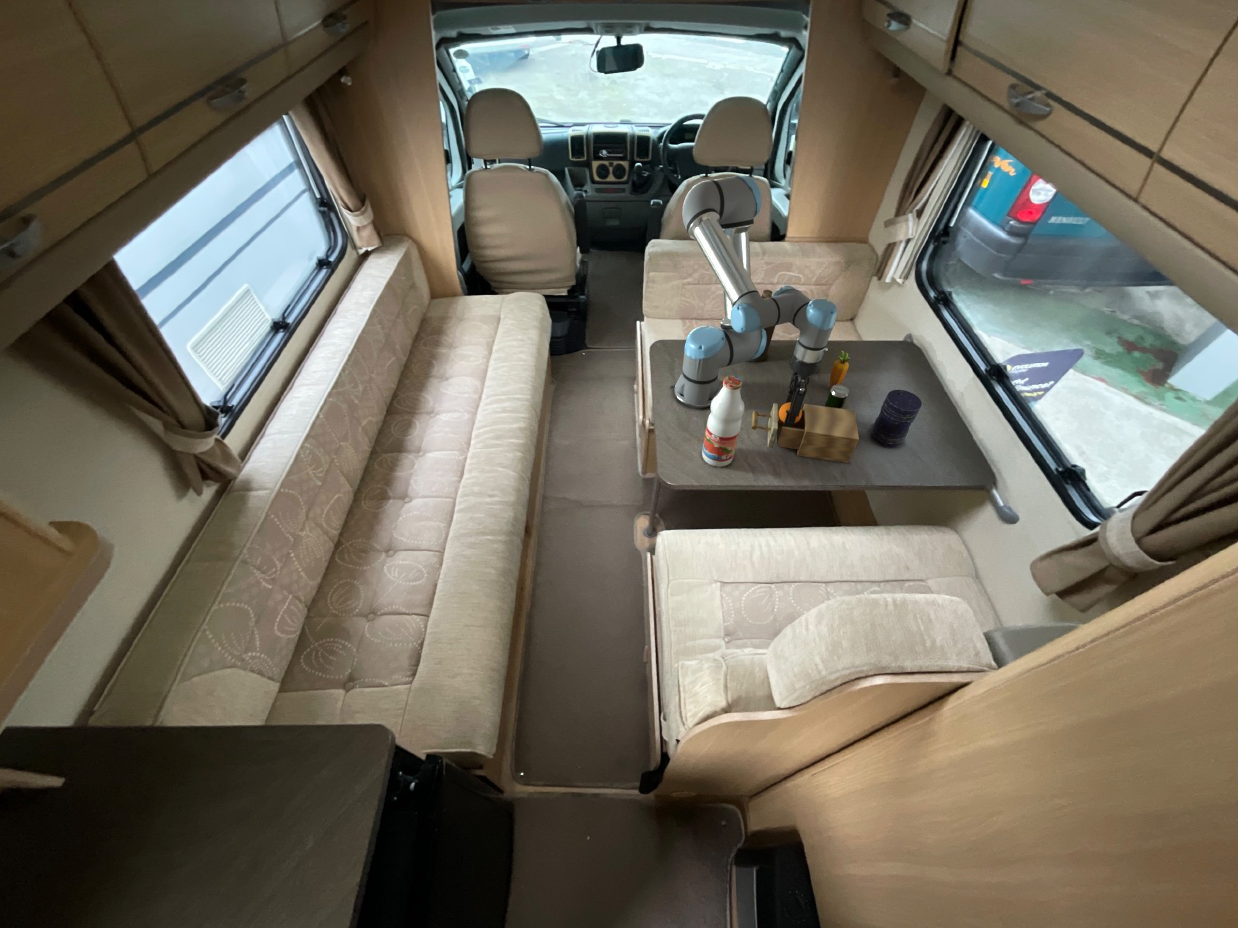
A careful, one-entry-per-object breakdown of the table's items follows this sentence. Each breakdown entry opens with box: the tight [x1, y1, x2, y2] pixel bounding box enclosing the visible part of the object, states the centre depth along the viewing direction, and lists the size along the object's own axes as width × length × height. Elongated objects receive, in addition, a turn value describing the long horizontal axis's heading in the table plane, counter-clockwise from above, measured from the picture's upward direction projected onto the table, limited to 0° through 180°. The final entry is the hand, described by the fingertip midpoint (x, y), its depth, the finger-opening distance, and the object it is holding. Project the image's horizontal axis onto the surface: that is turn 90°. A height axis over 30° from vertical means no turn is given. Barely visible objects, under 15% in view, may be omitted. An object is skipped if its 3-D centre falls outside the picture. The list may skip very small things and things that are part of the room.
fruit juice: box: [701, 375, 745, 468], centre depth 156 cm, size 9×9×28 cm
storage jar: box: [869, 389, 923, 449], centre depth 168 cm, size 10×10×15 cm
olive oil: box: [749, 289, 776, 363], centre depth 194 cm, size 11×11×25 cm
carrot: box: [829, 350, 851, 389], centre depth 184 cm, size 5×5×15 cm
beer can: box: [824, 384, 849, 409], centre depth 175 cm, size 5×5×12 cm
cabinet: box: [796, 403, 860, 464], centre depth 167 cm, size 15×13×10 cm
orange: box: [778, 402, 803, 423], centre depth 165 cm, size 6×6×6 cm
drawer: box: [751, 403, 805, 450], centre depth 168 cm, size 19×12×8 cm, turn 79°
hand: (787, 420), depth 167 cm, fingers closed on orange, 6 cm apart
